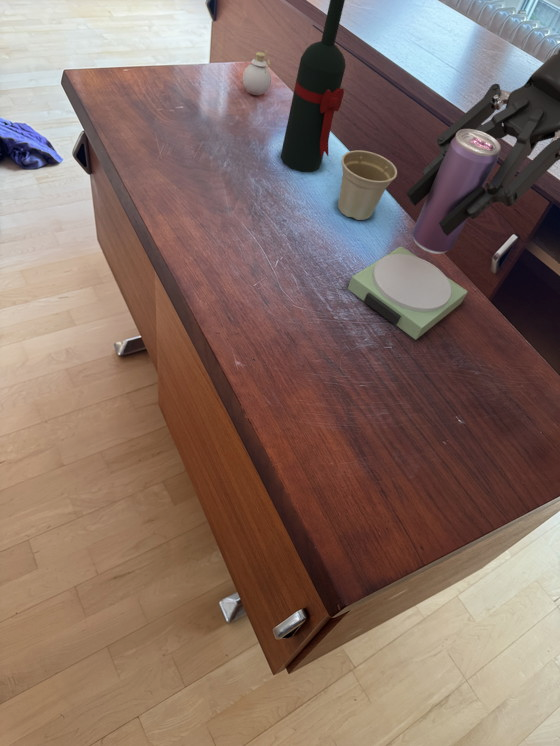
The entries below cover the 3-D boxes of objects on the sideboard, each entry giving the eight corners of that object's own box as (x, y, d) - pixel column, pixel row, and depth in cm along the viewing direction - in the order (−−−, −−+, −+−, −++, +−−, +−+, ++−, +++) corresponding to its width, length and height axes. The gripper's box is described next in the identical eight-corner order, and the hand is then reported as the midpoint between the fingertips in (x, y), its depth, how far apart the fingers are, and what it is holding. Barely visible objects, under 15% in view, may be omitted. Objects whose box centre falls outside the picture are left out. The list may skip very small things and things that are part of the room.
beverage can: (442, 261, 77) (494, 160, 65) (403, 241, 78) (447, 138, 67) (457, 242, 80) (509, 142, 69) (420, 223, 82) (464, 122, 70)
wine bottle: (301, 182, 102) (345, -7, 80) (272, 152, 107) (307, -35, 85) (336, 175, 106) (388, -7, 83) (306, 147, 111) (348, -33, 88)
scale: (461, 303, 88) (470, 287, 86) (413, 342, 81) (421, 325, 78) (396, 257, 93) (402, 241, 90) (344, 290, 85) (350, 273, 83)
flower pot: (346, 188, 104) (359, 143, 97) (390, 212, 101) (406, 168, 95) (318, 207, 98) (331, 162, 92) (364, 233, 96) (380, 188, 89)
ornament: (261, 86, 124) (268, 37, 117) (276, 103, 120) (285, 53, 113) (236, 87, 122) (242, 37, 114) (251, 104, 118) (258, 53, 110)
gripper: (637, 135, 67) (481, 271, 72) (522, 62, 76) (390, 188, 81) (641, 93, 61) (470, 246, 66) (516, 19, 70) (373, 158, 75)
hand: (426, 214), depth 73 cm, fingers closed on beverage can, 6 cm apart
